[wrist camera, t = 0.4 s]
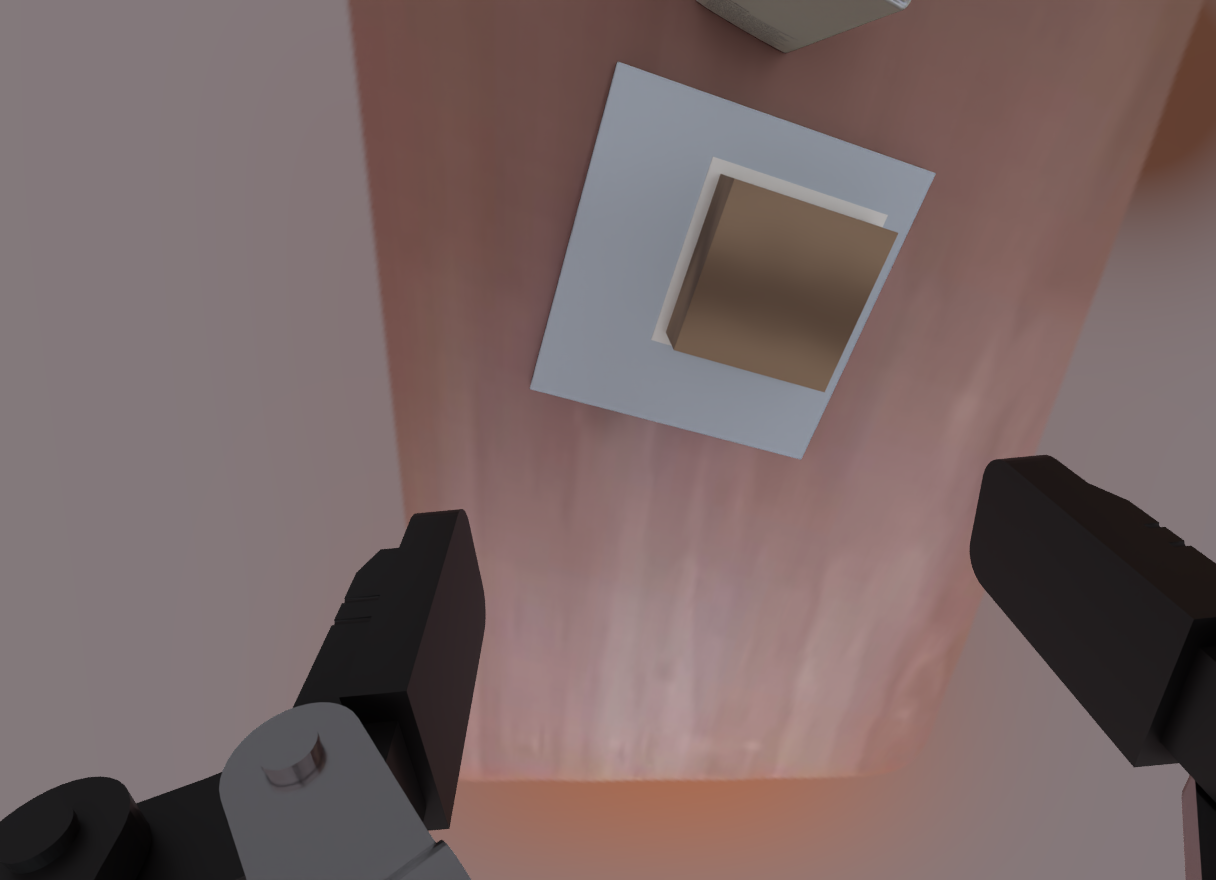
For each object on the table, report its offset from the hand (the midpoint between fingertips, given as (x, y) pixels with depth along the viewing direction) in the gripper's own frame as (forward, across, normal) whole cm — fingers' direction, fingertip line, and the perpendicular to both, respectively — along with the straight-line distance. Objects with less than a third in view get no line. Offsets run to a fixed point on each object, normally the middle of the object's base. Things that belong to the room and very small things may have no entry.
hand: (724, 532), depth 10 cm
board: (+26, -5, +3) cm, 26 cm away
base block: (+25, -7, +2) cm, 26 cm away
